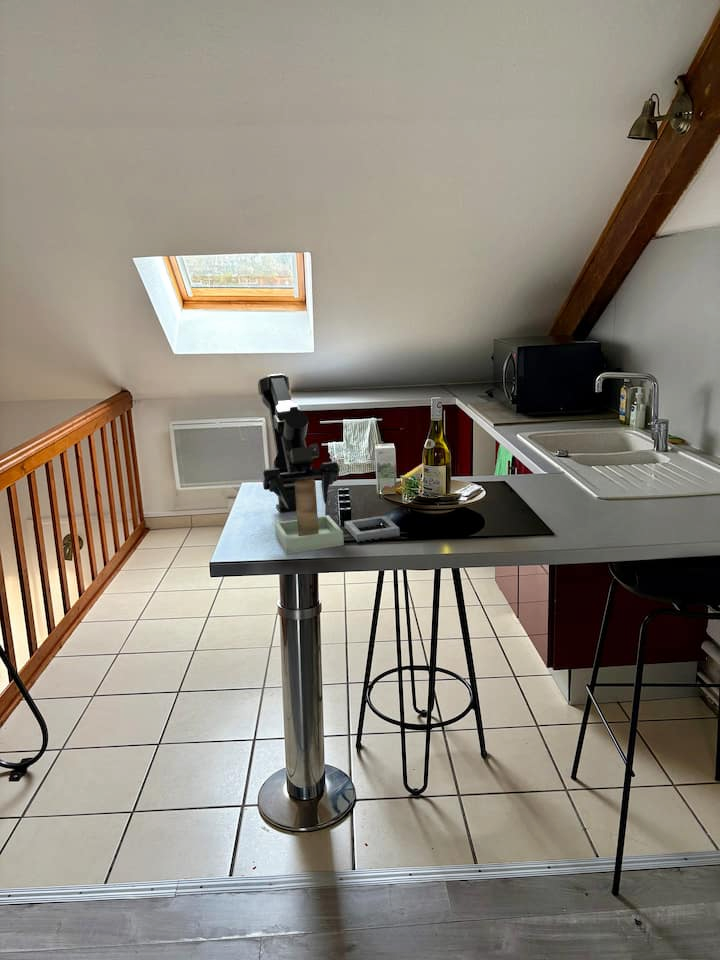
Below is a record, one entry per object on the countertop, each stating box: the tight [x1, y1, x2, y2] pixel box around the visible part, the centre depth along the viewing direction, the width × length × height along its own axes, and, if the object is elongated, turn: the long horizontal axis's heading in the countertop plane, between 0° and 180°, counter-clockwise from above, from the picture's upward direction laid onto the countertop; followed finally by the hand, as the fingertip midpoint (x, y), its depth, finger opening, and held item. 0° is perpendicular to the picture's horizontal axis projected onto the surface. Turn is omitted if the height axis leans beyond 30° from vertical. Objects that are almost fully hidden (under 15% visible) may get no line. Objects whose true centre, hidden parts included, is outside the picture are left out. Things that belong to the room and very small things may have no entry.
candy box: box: [401, 463, 423, 494], centre depth 214 cm, size 16×2×8 cm, turn 155°
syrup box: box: [374, 443, 397, 496], centre depth 219 cm, size 6×6×14 cm
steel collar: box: [343, 515, 401, 543], centre depth 186 cm, size 11×11×2 cm
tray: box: [274, 514, 345, 555], centre depth 183 cm, size 14×14×4 cm
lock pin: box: [295, 478, 319, 536], centre depth 181 cm, size 5×5×14 cm
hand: (307, 505), depth 180 cm, fingers open, 9 cm apart
